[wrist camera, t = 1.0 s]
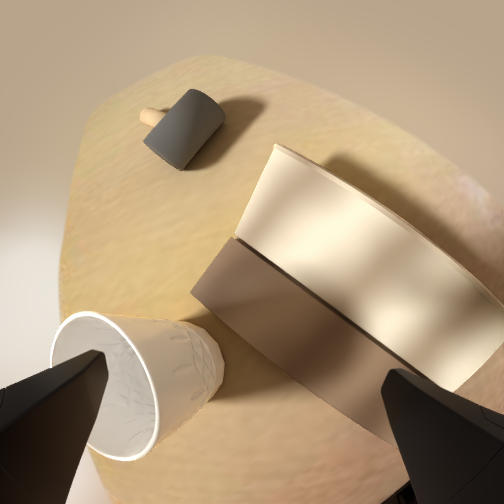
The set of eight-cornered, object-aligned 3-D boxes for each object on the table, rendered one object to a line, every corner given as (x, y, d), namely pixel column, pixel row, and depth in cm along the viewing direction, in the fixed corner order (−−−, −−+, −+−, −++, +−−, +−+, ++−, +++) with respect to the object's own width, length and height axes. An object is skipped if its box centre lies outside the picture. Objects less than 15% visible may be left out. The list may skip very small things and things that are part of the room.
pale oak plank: (514, 315, 11) (520, 325, 10) (449, 384, 15) (450, 396, 13) (284, 145, 18) (274, 143, 16) (243, 230, 21) (232, 234, 20)
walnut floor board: (445, 389, 15) (452, 393, 13) (399, 445, 14) (403, 451, 13) (239, 236, 21) (234, 231, 20) (196, 293, 21) (189, 292, 20)
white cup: (129, 354, 21) (36, 366, 12) (184, 292, 21) (91, 276, 11) (187, 426, 19) (109, 478, 9) (255, 369, 19) (195, 417, 9)
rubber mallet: (233, 125, 23) (210, 92, 19) (190, 176, 23) (159, 148, 19) (173, 106, 28) (151, 82, 24) (138, 146, 27) (113, 124, 24)
